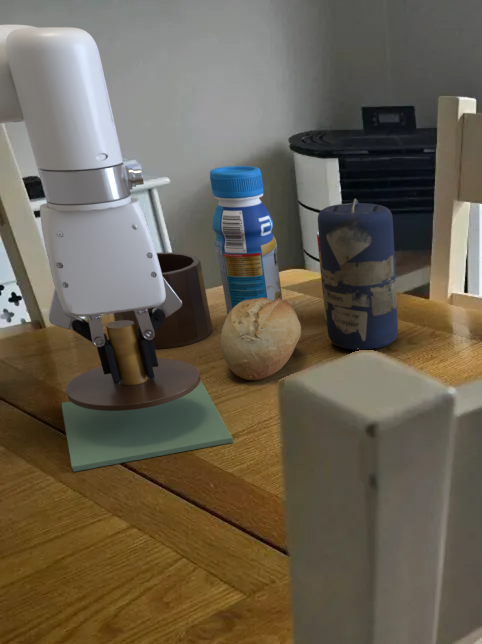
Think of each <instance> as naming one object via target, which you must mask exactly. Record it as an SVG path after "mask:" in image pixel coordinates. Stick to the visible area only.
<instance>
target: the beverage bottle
mask: <svg viewBox="0 0 482 644" xmlns="http://www.w3.org/2000/svg"><path fill="white" fill-rule="evenodd" d="M209 179H210V181H209V182H210V186H211V191H212V195H213V198H214V199H216V200H217V201H218V203H217V205H216V207H215V210H214V213H213V216H212V222H211V223H212V224H211V225H212V226H211V227H212V230H213V232H214V233H215V236H216V237H215V241H214V250H215V253H216V255H217V261H218V267H219V272H220V277H221V278H220V279H221V284H222V290H223V295H224V302H225V309H226V317H227V316H228V314H229V312H230V311H231V310H232V309H233V308H234V307H235V306H236V305H237V304H238V303H240V302H242V301H245V300H251V299H257V298H262V297H265V298H267V299H270V300H272V301H274V300H277V297H278V298H280V299H282V300H283V293H282V286H281V278H280V269H279V261H278V259H279V258H278V253H277V251H278V244H277V239H276V237H275V235H274V234H273V227H274V220H273V218H272V215H271V214H270V211H269V210H268V209H267V207H266V206H265V204H264V203H263V201H262V200H261V199H260V198H262V197H263V196H264V182H263V175H262V171H261V169H260V168H259V167H257V166H251V165H229V166H221V167H216V168H213V169H211V170H210V171H209Z"/></svg>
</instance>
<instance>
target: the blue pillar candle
mask: <svg viewBox="0 0 482 644" xmlns="http://www.w3.org/2000/svg"><path fill="white" fill-rule="evenodd" d="M317 228H318V229H317V230H318V231H319V243H320V253H321V264H322V277H323V286H322V285H321V288H322V287H323V291H322V293H323V292H324V299H325V309H326V319H327V322H326V327H327V336H328V338H329V340H330V341H331V343H332V344H333V345H334V346H337V347H340V348H342V349H347V350H353V349H355V351H356V350H357V351H363V350H362V349H369V350H374V349H373V348H376V349H379V348H384V347H386V346H388V345H391V344H392V343H393V342H395V340H396V339H397V337H398V334H399V333H398V332H399V324H398V323H399V322H398V305H397V304H398V300H397V280H396V278H397V277H396V259H395V238H394V219H393V213H392V211H391V210H390V209H389V208H388V207H387V206H384V205H380V204H376V203H365V202H364V203H363V202H359V201H358V199H357V198H354V199H353V201H352V202H350V203H340V204H339V203H338V204H333V205H330V206H326V207H324V208H322V209H321V210H320V211H319V213H318V215H317ZM318 231H317V232H318ZM357 348H359V349H357Z"/></svg>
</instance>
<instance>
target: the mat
mask: <svg viewBox="0 0 482 644" xmlns="http://www.w3.org/2000/svg"><path fill="white" fill-rule="evenodd" d="M60 404H61V411H62V416H63V423H64V429H65V435H66V441H67V448H68V454H69V460H70V466H71V470H72V472H73V473H74V472H75V473H76V472H80V471H86V470H91V469H96V468H102V467H108V466H112V465H118V464H125V463H129V462H134V461H140V460H146V459H150V458H156V457H157V458H158V457H162V456H168V455H173V454H178V453H184V452H188V451H193V450H199V449H204V448H210V447H216V446H222V445H226V444H231V443H234V438H233V436H232V435H231V432H230V431H229V428H228V427H227V425H226V423H225V422H224V420H223V418H222V416H221V414H220V413H219V411H218V409H217V407H216V405H215V403H214V402H213V400H212V398H211V396H210V394H209V392H208V391H207V389H206V387H205V385H204V383H203V382H202V380H200V383H199V385H198V386H197V387H196V388H195V389H194V390H193V391H191V392H190V393H188V394H187V395H185V396H183V397H181V398H178V399H176V400H173V401H170V402H167V403H164V404H161V405H156V406H152V407H147V408H141V409H134V410H123V411H102V410H92V409H87V408H83V407H80V406H77V405H75V404H74V403H72V402H71V401H65V402H61V403H60Z"/></svg>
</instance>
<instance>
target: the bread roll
mask: <svg viewBox="0 0 482 644" xmlns="http://www.w3.org/2000/svg"><path fill="white" fill-rule="evenodd" d="M301 325H302V324H301V322H300V320H299V318H298V314H297V313H296V311H295V309H294V308H293V306H292V304H291V303H290V302H288V300H286V299H283V298H282V299H280V298H278V297H277V300H274V301H272V300H270V299H267V298H265V297H262V298H257V299H251V300H245V301H242V302H240V303H238V304H237V305H236V306H235V307H234V308H233V309H232V310H231V311H230V312H229V314H228V316H227V315H226V318H225V320H224V321H223V326H222V329H221V334H220V349H221V354H222V357H223V359H224V361H225V363H226V365H227V367H228V369H230V370H231V371H232V373H234V375H236V376H237V377H239V378H241V379H244V380H247V381H259V380H262V379H265V378H268V377H270V376H272V375H273V374H276V373H277V372H279V371H280V370H281V369H282V368H283V367H284V366H285V365H286V364H287V363H288V361H289V360H290V358H291V357H292V355H293V353H294V352H295V349H296V346H297V345H298V342H299V340H300V338H301V336H302V335H301V334H302V326H301Z"/></svg>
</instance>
